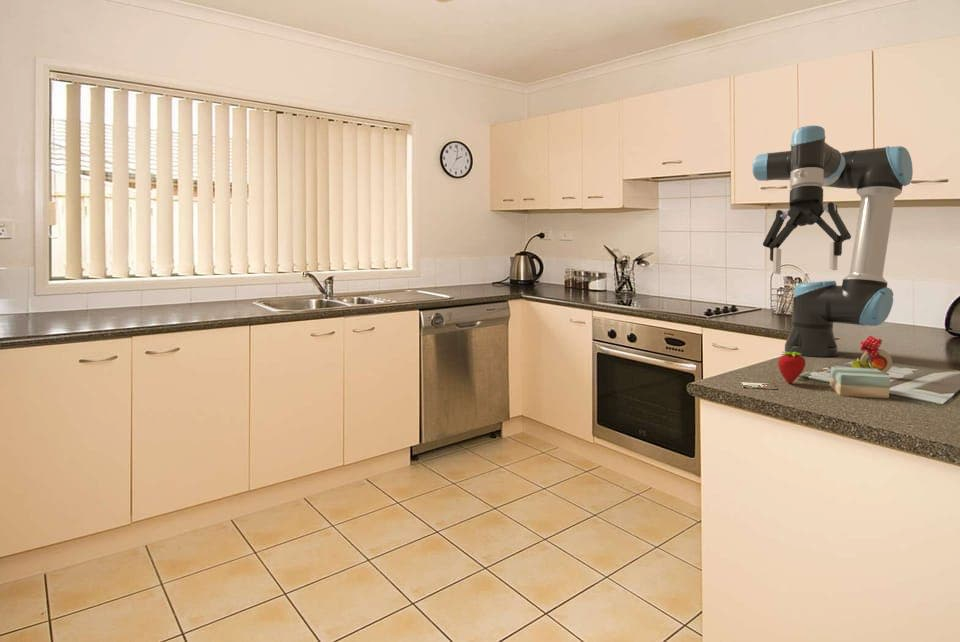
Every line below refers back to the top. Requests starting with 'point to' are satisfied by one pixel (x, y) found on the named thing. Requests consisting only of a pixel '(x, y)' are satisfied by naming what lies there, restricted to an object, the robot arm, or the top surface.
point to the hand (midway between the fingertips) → (803, 271)
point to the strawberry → (791, 365)
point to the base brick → (860, 382)
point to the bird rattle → (877, 361)
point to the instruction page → (753, 384)
